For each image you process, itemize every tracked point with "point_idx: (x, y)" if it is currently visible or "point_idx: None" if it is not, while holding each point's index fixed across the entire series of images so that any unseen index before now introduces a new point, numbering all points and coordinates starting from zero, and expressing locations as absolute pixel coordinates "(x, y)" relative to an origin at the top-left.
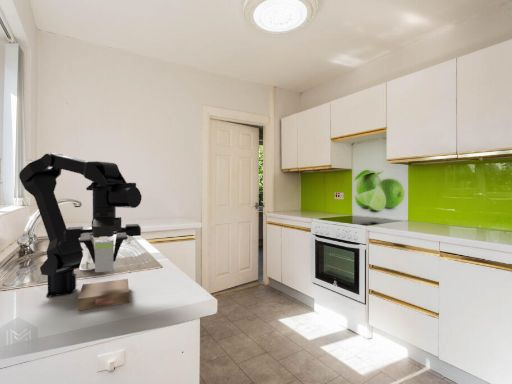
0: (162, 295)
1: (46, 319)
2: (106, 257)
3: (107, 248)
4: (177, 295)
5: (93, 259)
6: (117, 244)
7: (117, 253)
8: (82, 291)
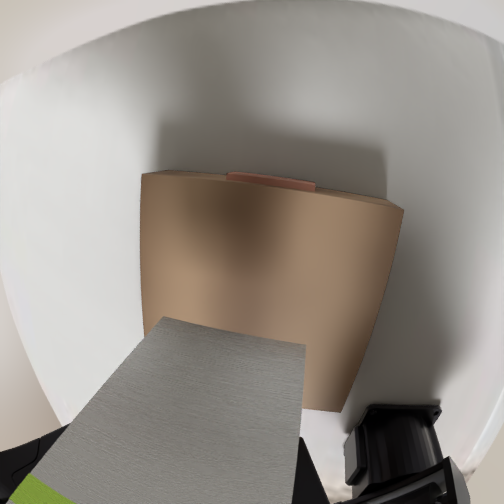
0: (59, 188)
1: (485, 181)
2: (164, 415)
3: (100, 500)
4: (28, 163)
5: (304, 464)
6: (4, 479)
7: (67, 424)
8: (365, 319)
